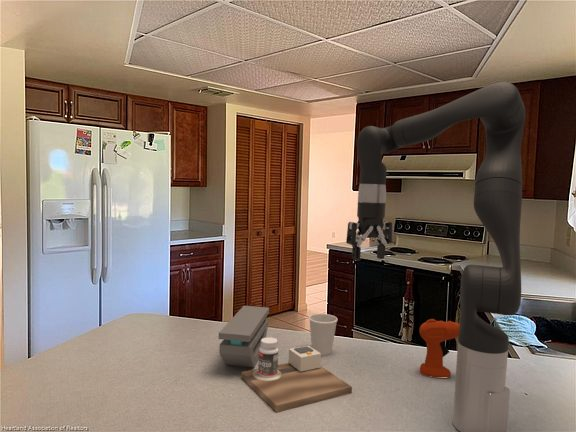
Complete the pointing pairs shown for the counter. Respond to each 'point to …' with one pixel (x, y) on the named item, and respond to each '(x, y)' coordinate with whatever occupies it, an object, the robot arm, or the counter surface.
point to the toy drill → (437, 346)
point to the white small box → (304, 358)
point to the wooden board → (295, 386)
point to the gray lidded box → (244, 336)
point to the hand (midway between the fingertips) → (368, 259)
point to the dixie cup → (322, 332)
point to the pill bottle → (268, 357)
